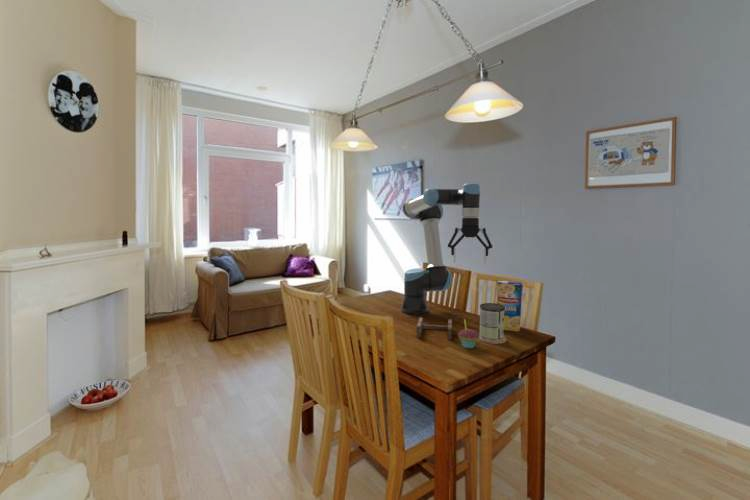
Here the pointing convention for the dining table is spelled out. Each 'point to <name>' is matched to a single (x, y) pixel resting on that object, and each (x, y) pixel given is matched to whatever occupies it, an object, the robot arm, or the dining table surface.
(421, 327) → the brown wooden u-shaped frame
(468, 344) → the cupcake
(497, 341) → the coaster
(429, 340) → the dining table surface
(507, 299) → the blue cardboard box
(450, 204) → the robot arm
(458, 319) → the dining table surface
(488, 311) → the coffee can
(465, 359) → the dining table surface
